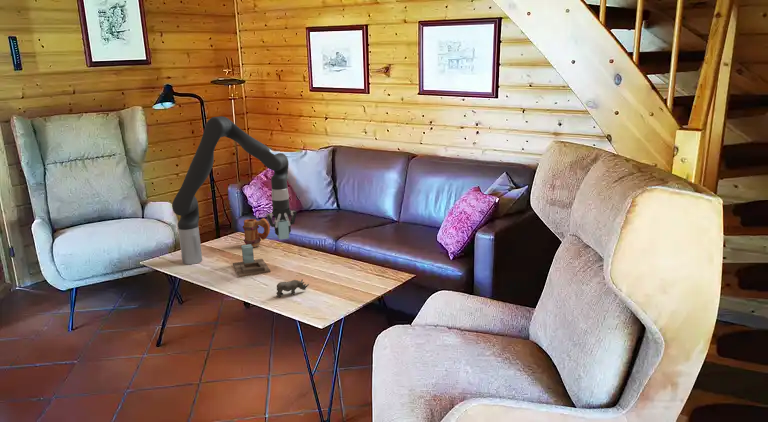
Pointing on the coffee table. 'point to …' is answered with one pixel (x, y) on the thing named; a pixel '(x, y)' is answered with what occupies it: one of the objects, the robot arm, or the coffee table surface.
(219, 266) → the coffee table surface
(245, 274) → the walnut board
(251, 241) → the mug
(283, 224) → the teal block
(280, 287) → the rhino figurine
